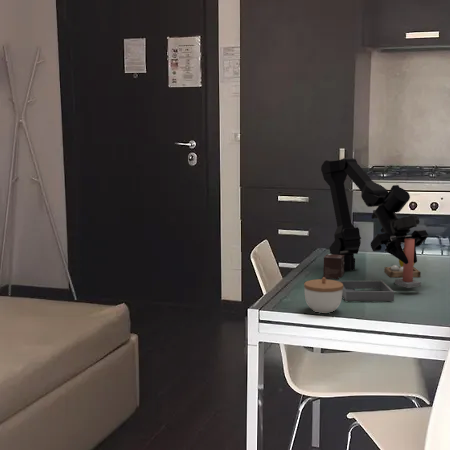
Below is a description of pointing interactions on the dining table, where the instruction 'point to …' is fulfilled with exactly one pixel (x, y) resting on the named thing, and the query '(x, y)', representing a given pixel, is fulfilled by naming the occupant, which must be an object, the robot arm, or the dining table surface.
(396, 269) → the grey sphere
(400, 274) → the pebble tray
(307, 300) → the lidded jar
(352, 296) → the bin
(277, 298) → the dining table surface
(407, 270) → the red post on base
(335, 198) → the robot arm
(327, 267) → the box
